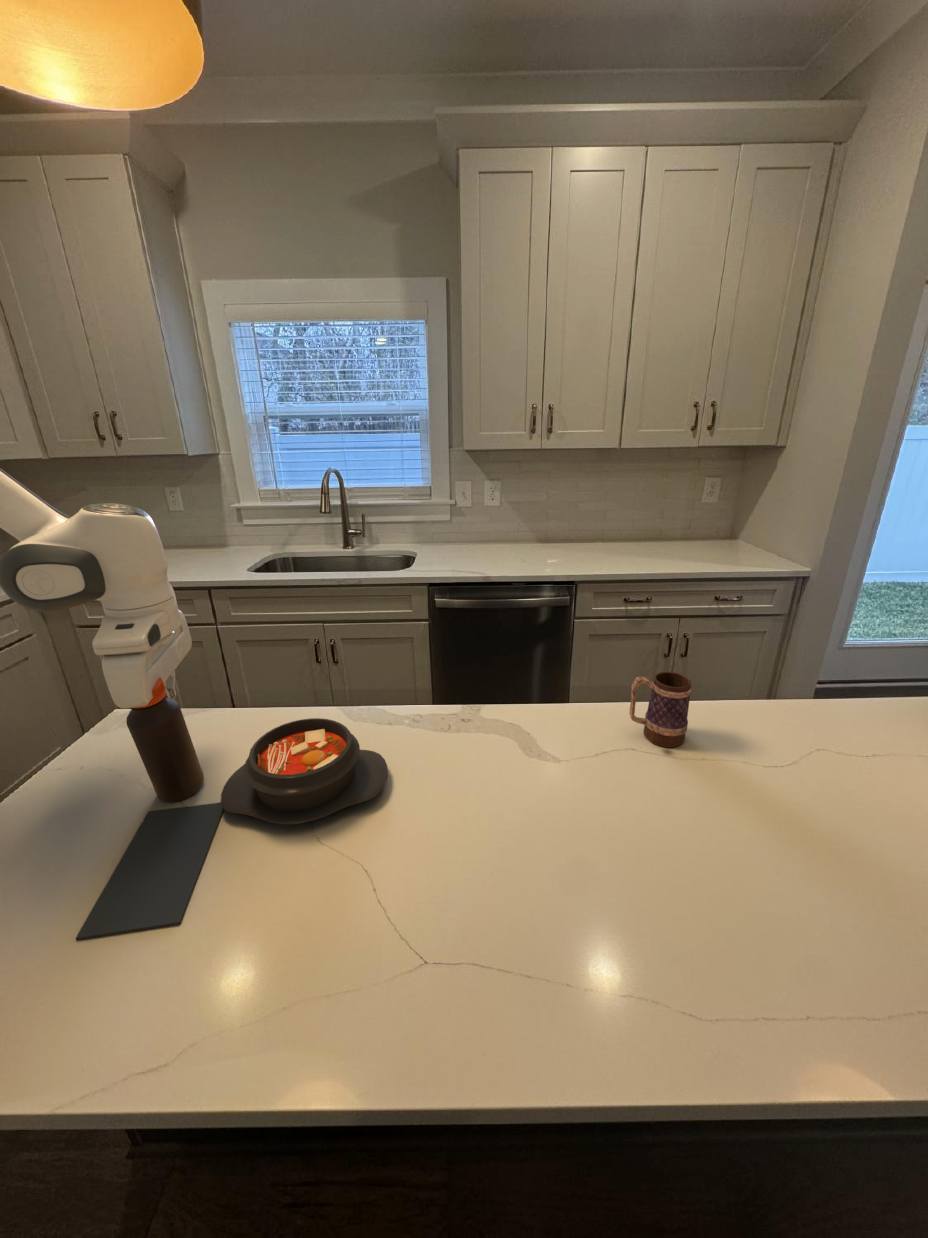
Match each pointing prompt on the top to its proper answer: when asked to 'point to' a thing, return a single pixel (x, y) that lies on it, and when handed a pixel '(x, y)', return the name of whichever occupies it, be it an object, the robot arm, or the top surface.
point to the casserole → (304, 773)
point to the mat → (155, 872)
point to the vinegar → (165, 746)
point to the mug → (664, 708)
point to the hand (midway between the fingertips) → (167, 702)
